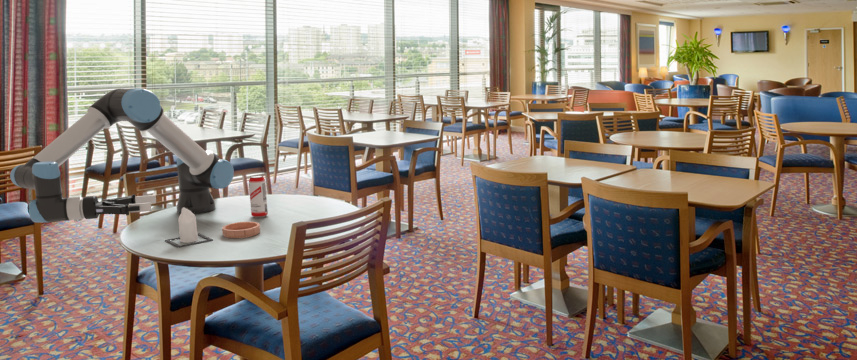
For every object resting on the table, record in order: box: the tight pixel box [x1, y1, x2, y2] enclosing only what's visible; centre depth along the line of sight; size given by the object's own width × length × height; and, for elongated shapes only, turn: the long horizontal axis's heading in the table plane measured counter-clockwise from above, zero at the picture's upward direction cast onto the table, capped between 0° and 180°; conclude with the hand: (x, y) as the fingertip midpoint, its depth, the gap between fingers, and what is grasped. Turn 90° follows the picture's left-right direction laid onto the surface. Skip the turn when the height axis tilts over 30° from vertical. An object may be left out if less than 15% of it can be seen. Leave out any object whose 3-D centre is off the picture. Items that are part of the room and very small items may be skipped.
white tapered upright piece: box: [177, 207, 199, 244], centre depth 229 cm, size 6×12×6 cm
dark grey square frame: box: [164, 232, 214, 248], centre depth 230 cm, size 12×12×1 cm
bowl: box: [221, 221, 261, 239], centre depth 237 cm, size 13×13×3 cm
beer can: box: [248, 174, 269, 219], centre depth 261 cm, size 6×6×16 cm
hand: (153, 202), depth 225 cm, fingers open, 13 cm apart
